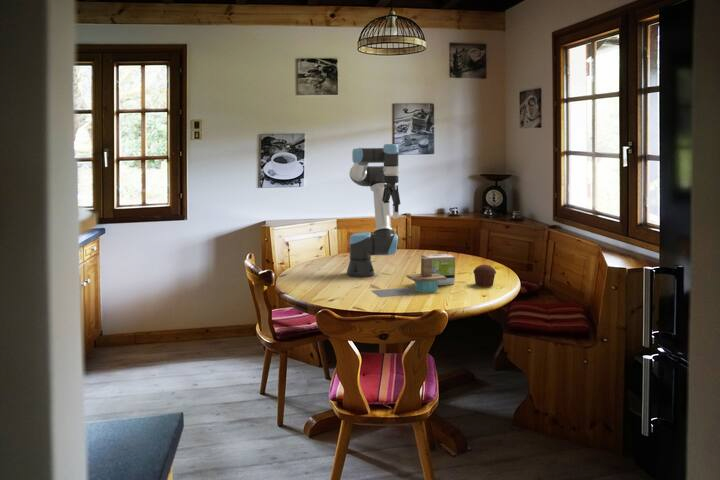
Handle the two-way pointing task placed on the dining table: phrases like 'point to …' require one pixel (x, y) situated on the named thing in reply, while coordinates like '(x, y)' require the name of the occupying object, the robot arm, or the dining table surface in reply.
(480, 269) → the muffin
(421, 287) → the teal bowl
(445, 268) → the tea box
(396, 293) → the charcoal mat
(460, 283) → the dining table surface
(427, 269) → the walnut lid
